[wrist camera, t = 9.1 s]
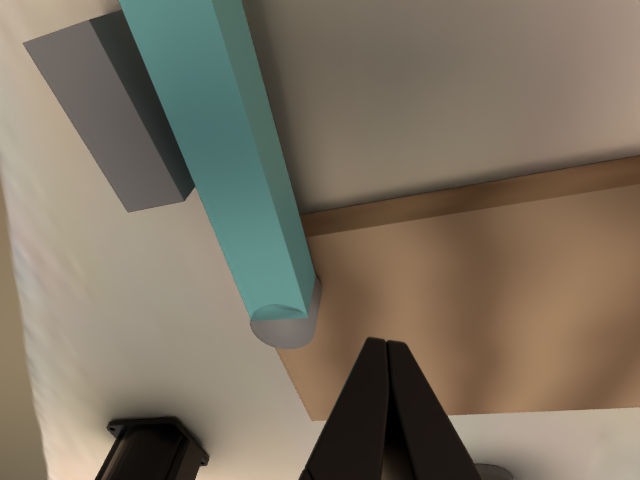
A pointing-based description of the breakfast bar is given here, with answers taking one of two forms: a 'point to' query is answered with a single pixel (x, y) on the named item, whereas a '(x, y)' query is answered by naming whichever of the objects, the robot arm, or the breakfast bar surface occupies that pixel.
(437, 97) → the breakfast bar surface
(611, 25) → the breakfast bar surface
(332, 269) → the board
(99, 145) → the post
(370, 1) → the breakfast bar surface
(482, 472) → the beverage cup
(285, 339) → the leg
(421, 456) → the robot arm
